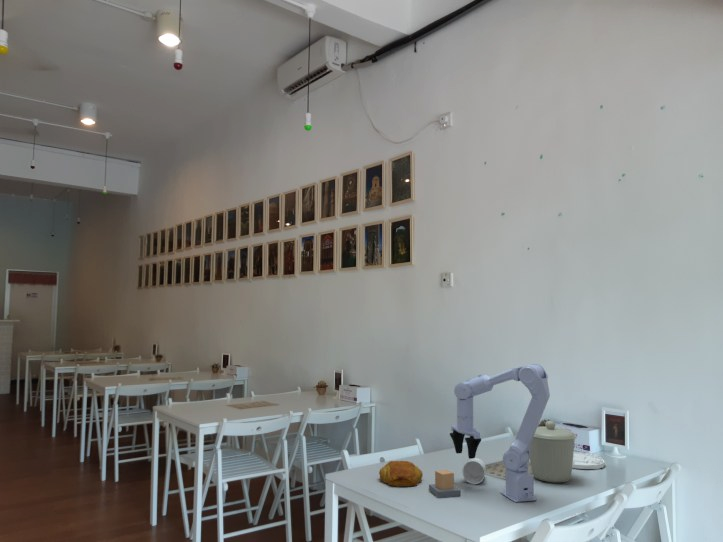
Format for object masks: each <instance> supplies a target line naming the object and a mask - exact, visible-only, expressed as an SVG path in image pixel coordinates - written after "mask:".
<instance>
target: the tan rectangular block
mask: <svg viewBox="0 0 723 542" xmlns="http://www.w3.org/2000/svg"><path fill="white" fill-rule="evenodd" d="M434 478H435V479H434V484H435V486H436V487H438V488H440V489H442V490H446V489H453V488H454V486H455V473H454V472H453V471H451V470H449V469H440V470H435V471H434Z"/></svg>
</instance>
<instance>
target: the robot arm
mask: <svg viewBox="0 0 723 542" xmlns="http://www.w3.org/2000/svg"><path fill="white" fill-rule="evenodd" d="M548 377H549V376H548V373H547V372H546V370H545V369H544V367H543V366H542V365H540V364H538V363H532V364H530V365H524V366H518V367H512V368H510V369H507V370H504V371H502V372H499V373H497V374H494V375H491V376H489V375H487V374H483V373H480V374H478V375H477V377H474V378H472V379H470V378H467V379H466V381H464V382H459V383H457V384H456V385H455V386H454V391H453V392H454V395H455V397H456V424H454V425H452V424H451V426H450V431H452V432H450V433H449V436H450V438H451V439H452V442H453V443H452V444H453V446H454V450H455V453H456V454H457V455H458V454H462V453H463V446H464V440H465V443H466V447H467V454H468V455H467V456H468V459H469V460H471V459H472V458H476V454H477V450H478V447H479V445H480V443H481V442H482V438H481V432H478V431H477V430H476V428H474V397H475V396H479V395H482V394H485V393H488V392H490V391H492V389H493V387H494V386H495V385H499V384H502V383H505V382H508V381H512V380H513V381H516V382H521V383H522V384H523V385H524V387H526V388H527V390H528V391H529V394H530V396H531V399H530V400H529V404H528V407H527V409H526V412H525V414H524V416H523V418H522V421H521V424H520V425H519V428H518V430H517V433H516V435H515V438H514V440H513V442H512V443H511V444H510V446H509V448H508V450H506V451H505V452H504V454H503V455H502V462H503V465H504V466H505V490H504V491H500V494H502V495H503V496H504V497H506V498H508V499H510V501H513V502H515V503H517V502H531V501H537V498H536V497H535V493H534V492H535V491H534V490H535V484H534V483H535V482H534V478H533V476H531V474H530V473H529V468H528V465H527V464H528V463H529V462H530V449H531V441H532V439H533V437H534V434H535V432H536V429H537V427H539V424H540V422H541V419H542V417H543V414H544V412H545V409H546V406H547V404H548V401H549V399H550V387H549V382H548V379H549V378H548ZM465 436H467V437H465Z"/></svg>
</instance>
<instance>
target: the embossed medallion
mask: <svg viewBox="0 0 723 542" xmlns="http://www.w3.org/2000/svg"><path fill="white" fill-rule="evenodd" d="M605 463H606V462H605V460H604V459H603V457H602V456H601V455H598V454H594V453H590V452H589V453H588V452H585V453H584V452H582V451H581V452H580V451H578V452H576V451H574V453H573V464H572V470H574V469H579V470H580V469H581V470H594V471H595V470H600V469H602V468H605V466H606V465H605Z"/></svg>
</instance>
